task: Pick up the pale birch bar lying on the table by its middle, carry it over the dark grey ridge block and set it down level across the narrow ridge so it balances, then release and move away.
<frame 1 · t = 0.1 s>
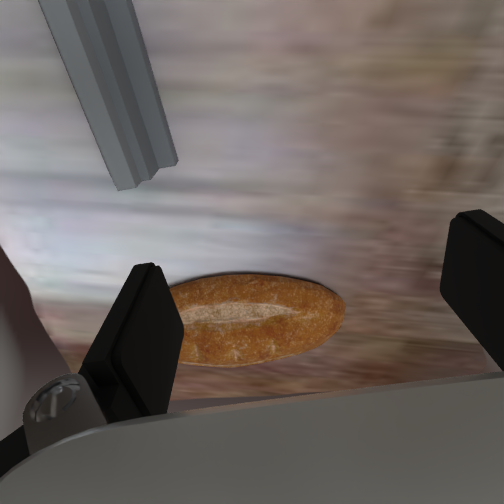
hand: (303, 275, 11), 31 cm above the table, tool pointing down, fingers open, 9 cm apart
ridge block: (116, 76, 35), on the table
bread: (235, 311, 53), on the table
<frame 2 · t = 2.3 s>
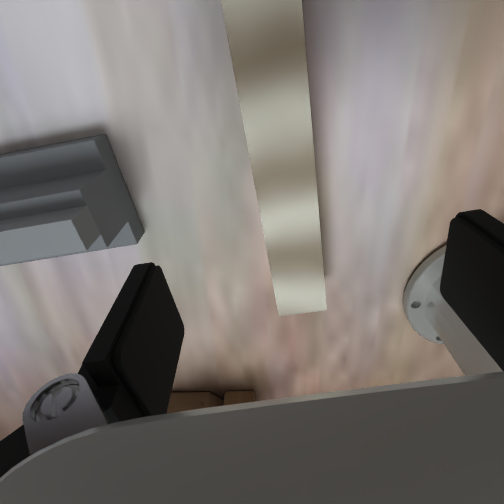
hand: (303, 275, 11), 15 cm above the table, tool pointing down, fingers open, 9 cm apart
wooden block: (210, 397, 39), on the table
ridge block: (8, 208, 26), on the table
birch bar: (279, 157, 24), on the table
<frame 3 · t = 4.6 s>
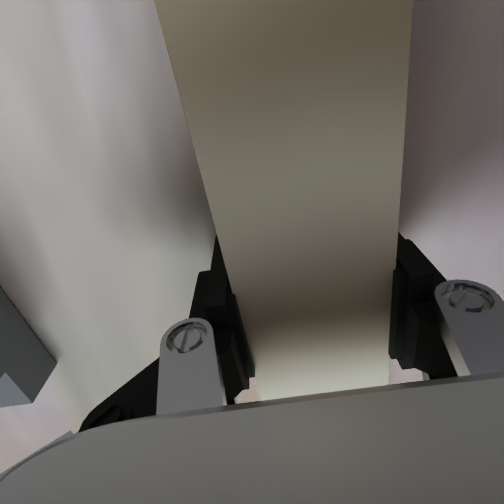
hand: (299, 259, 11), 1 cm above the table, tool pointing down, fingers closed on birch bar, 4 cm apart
birch bar: (296, 247, 12), on the table, touching gripper
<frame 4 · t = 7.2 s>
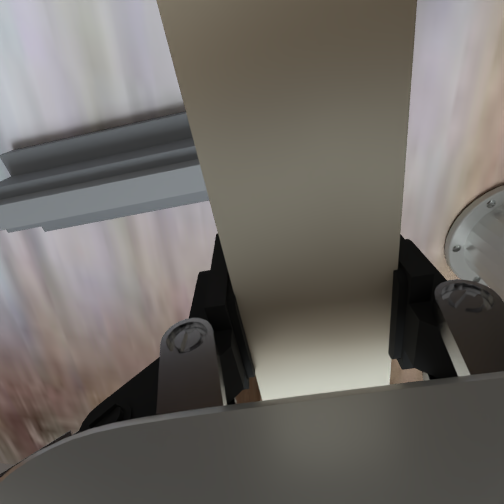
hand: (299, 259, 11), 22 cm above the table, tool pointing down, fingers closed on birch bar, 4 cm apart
wooden block: (270, 343, 45), on the table
ridge block: (126, 170, 32), on the table
birch bar: (297, 245, 12), point 21 cm above the table, touching gripper
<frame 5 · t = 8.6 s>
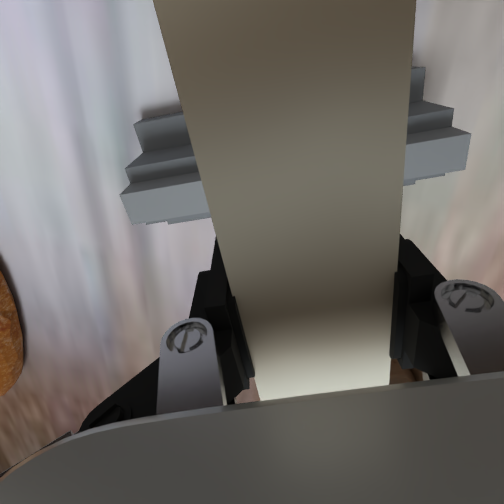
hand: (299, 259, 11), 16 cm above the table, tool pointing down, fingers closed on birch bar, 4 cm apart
wooden block: (390, 359, 39), on the table
ridge block: (278, 149, 26), on the table
birch bar: (296, 246, 12), point 16 cm above the table, touching gripper
when the fingers open (9 cm above the table, at t = 9.9 s): birch bar stays where it is, resting on ridge block.
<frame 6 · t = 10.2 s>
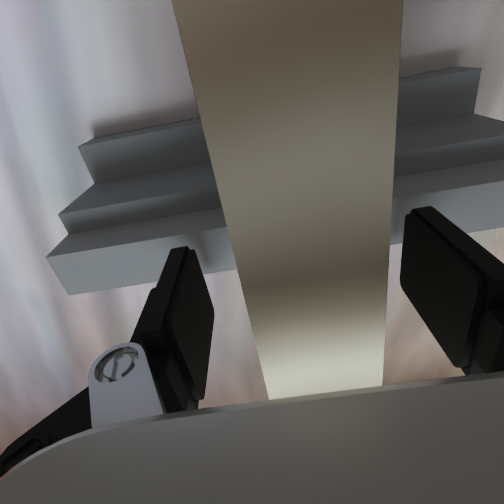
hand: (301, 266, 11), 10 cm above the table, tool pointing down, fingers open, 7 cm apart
ridge block: (277, 174, 20), on the table
birch bar: (297, 235, 13), point 8 cm above the table, touching ridge block
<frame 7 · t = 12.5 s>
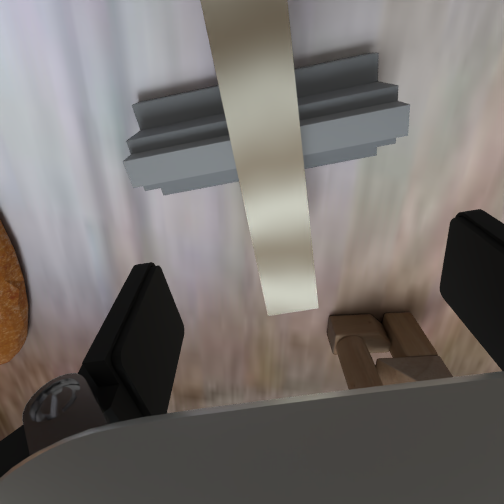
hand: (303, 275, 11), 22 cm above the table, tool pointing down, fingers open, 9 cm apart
wooden block: (367, 321, 43), on the table
ridge block: (258, 127, 29), on the table
birch bar: (265, 146, 22), point 8 cm above the table, touching ridge block
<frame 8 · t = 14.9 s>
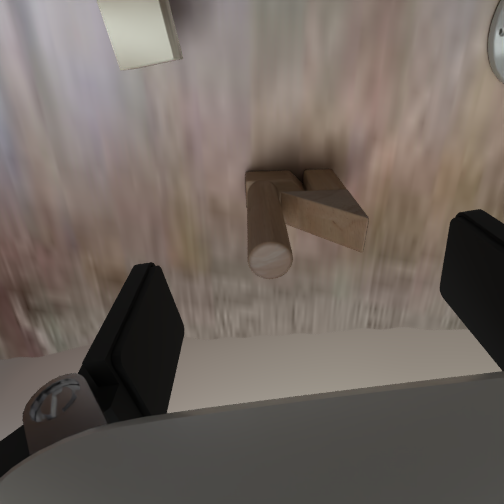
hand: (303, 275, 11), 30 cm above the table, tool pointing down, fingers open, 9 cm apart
wooden block: (288, 182, 41), on the table
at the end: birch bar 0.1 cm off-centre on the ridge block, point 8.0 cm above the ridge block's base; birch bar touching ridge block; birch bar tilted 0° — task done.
